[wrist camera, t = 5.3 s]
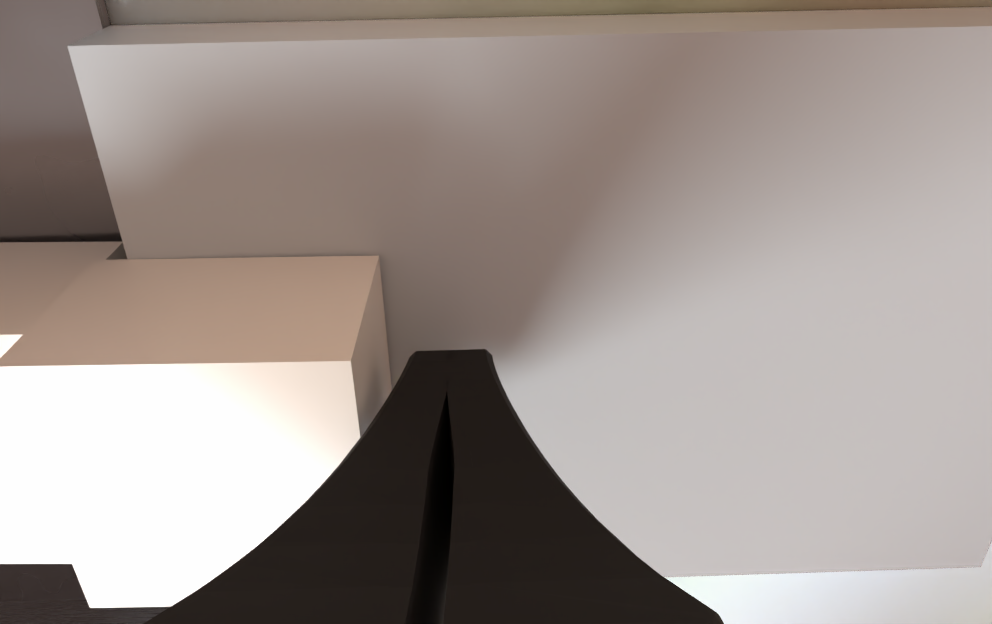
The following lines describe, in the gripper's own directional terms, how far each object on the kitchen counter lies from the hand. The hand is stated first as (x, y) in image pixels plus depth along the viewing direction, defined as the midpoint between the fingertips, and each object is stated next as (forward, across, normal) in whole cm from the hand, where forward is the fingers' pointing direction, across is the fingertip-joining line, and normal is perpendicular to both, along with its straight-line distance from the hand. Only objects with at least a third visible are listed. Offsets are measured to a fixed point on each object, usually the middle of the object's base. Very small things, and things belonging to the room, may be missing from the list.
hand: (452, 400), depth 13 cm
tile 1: (+1, +3, 0) cm, 4 cm away
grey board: (+2, -3, 0) cm, 4 cm away
